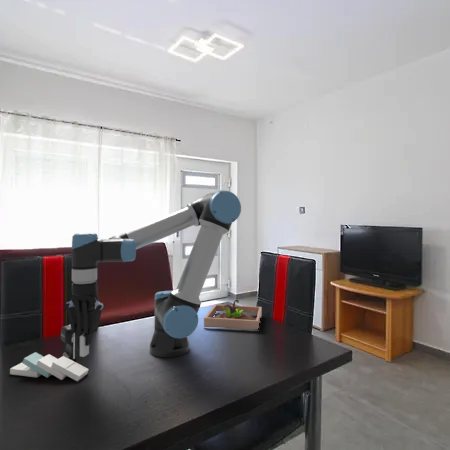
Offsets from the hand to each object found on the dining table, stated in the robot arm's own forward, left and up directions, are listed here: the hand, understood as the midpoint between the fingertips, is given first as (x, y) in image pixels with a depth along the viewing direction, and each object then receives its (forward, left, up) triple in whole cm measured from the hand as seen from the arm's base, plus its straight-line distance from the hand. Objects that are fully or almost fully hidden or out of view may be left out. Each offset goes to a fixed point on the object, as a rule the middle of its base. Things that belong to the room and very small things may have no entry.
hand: (84, 354), depth 105 cm
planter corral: (-39, -67, -7) cm, 78 cm away
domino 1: (+11, 0, -6) cm, 13 cm away
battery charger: (+15, -13, -8) cm, 21 cm away
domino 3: (0, 0, -7) cm, 7 cm away
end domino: (+15, 0, -7) cm, 16 cm away
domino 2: (+6, 0, -7) cm, 9 cm away
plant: (-39, -68, -8) cm, 78 cm away
